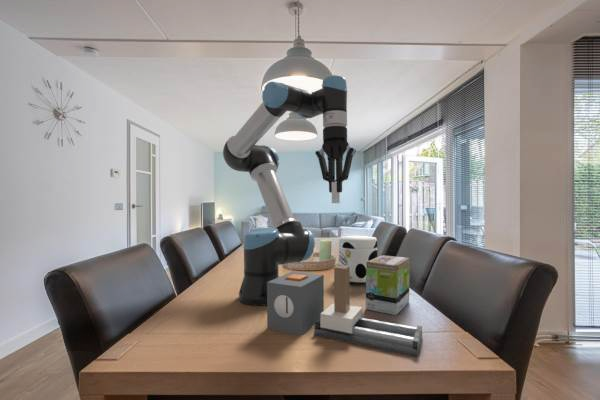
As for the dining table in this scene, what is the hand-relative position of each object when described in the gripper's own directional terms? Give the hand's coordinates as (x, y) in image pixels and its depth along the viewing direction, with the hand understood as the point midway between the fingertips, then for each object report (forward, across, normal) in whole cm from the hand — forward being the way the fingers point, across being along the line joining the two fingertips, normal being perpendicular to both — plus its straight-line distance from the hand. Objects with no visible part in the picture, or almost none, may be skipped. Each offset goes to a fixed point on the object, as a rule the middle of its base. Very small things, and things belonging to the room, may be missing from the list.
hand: (335, 203), depth 96 cm
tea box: (+33, +14, +10) cm, 37 cm away
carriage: (+31, +8, -16) cm, 35 cm away
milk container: (+33, -4, +33) cm, 46 cm away
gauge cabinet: (+32, -5, -16) cm, 37 cm away
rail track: (+33, +14, -16) cm, 39 cm away
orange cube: (+24, -5, -16) cm, 29 cm away
